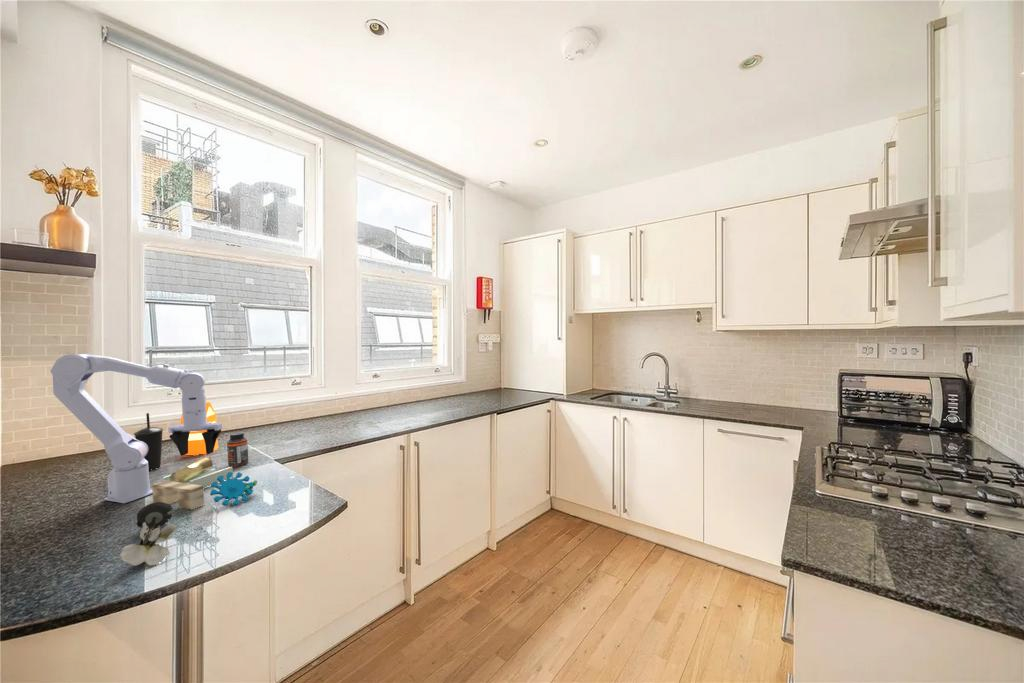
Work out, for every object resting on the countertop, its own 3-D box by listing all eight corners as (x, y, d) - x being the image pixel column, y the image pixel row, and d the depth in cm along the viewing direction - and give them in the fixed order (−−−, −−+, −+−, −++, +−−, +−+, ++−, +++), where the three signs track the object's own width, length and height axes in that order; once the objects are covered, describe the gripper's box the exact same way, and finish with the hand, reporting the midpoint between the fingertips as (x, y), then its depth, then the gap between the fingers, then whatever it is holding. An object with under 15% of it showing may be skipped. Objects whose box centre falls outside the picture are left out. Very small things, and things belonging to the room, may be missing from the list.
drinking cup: (169, 467, 136) (165, 412, 135) (140, 474, 130) (136, 416, 129) (161, 463, 140) (158, 410, 139) (133, 470, 134) (129, 414, 133)
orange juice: (193, 450, 156) (190, 402, 155) (218, 448, 158) (215, 400, 157) (182, 456, 148) (178, 405, 147) (208, 454, 150) (205, 404, 149)
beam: (153, 503, 106) (152, 484, 106) (166, 498, 109) (164, 480, 108) (192, 510, 101) (190, 490, 101) (204, 505, 104) (203, 485, 103)
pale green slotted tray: (163, 489, 116) (162, 477, 116) (205, 474, 127) (204, 463, 127) (191, 493, 112) (191, 481, 112) (233, 477, 123) (232, 466, 123)
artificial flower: (181, 525, 95) (192, 487, 96) (161, 584, 77) (175, 536, 77) (133, 527, 90) (145, 486, 91) (99, 590, 72) (114, 539, 72)
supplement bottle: (224, 466, 135) (222, 434, 134) (241, 460, 140) (239, 430, 140) (235, 468, 132) (233, 436, 132) (252, 462, 138) (250, 431, 138)
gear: (214, 507, 98) (208, 474, 103) (207, 519, 100) (202, 486, 105) (262, 497, 107) (254, 467, 112) (254, 508, 109) (247, 478, 114)
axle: (187, 476, 113) (175, 469, 113) (178, 487, 113) (167, 479, 113) (215, 462, 125) (204, 455, 125) (207, 472, 125) (197, 465, 125)
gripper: (158, 415, 114) (162, 459, 115) (209, 412, 115) (212, 456, 116) (177, 410, 121) (180, 452, 122) (225, 407, 122) (228, 449, 123)
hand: (197, 453), depth 119 cm, fingers open, 7 cm apart
